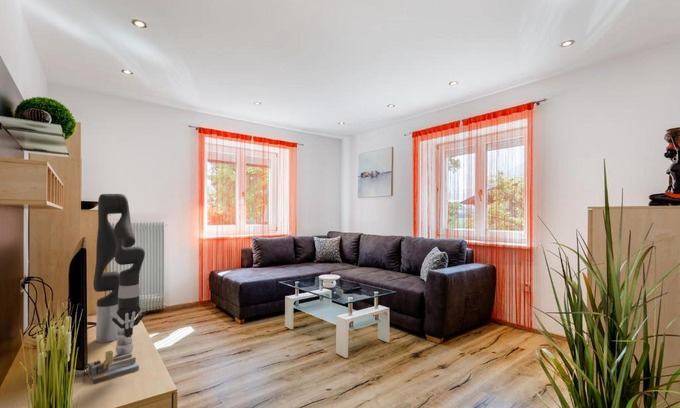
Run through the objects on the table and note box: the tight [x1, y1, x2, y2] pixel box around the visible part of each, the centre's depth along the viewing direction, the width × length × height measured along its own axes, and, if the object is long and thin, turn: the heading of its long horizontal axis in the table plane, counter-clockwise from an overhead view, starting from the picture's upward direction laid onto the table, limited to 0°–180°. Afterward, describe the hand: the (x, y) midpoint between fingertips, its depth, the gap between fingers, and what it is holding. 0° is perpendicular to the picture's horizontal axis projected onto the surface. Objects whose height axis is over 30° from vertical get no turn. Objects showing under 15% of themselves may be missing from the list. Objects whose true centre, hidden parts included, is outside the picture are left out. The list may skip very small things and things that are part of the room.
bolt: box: [95, 350, 114, 372], centre depth 133 cm, size 3×6×6 cm, turn 138°
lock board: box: [85, 352, 140, 384], centre depth 135 cm, size 14×15×4 cm
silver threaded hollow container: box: [115, 317, 134, 356], centre depth 150 cm, size 6×7×20 cm
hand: (128, 336), depth 139 cm, fingers closed
